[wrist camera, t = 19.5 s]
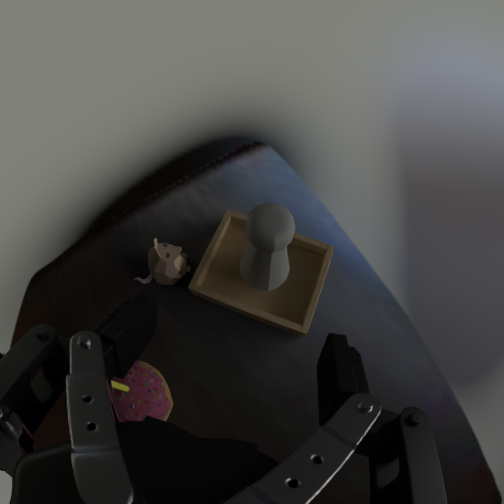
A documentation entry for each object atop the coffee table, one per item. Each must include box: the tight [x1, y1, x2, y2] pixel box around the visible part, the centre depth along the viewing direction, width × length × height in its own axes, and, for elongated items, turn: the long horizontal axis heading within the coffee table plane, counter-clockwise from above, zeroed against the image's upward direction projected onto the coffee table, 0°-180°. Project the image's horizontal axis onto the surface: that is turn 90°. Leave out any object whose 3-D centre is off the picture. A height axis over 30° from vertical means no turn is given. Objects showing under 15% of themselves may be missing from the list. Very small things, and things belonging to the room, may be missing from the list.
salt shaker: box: [239, 203, 295, 291], centre depth 29 cm, size 6×6×13 cm
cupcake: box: [111, 360, 173, 422], centre depth 23 cm, size 9×8×12 cm
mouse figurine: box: [134, 238, 190, 285], centre depth 32 cm, size 5×8×7 cm, turn 110°
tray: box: [188, 210, 334, 337], centre depth 34 cm, size 15×12×3 cm
